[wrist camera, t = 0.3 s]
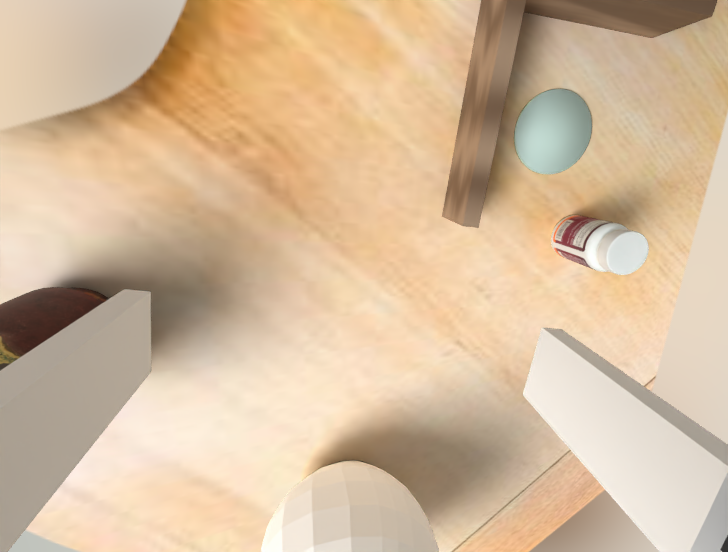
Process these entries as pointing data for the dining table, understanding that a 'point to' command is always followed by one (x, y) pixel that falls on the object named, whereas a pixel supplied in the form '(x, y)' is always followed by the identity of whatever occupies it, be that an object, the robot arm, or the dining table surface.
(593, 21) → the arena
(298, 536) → the white vase
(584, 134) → the disc
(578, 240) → the pill bottle
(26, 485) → the robot arm
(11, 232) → the dining table surface
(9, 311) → the vase
